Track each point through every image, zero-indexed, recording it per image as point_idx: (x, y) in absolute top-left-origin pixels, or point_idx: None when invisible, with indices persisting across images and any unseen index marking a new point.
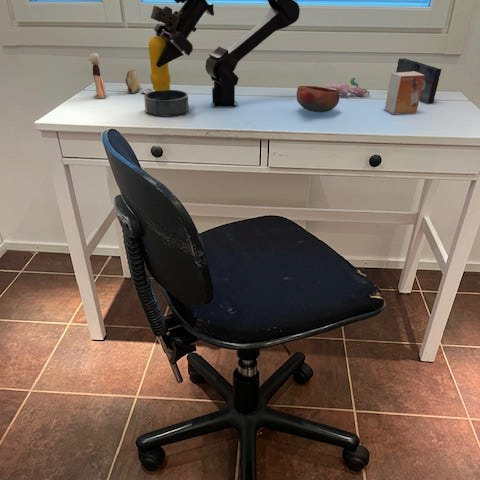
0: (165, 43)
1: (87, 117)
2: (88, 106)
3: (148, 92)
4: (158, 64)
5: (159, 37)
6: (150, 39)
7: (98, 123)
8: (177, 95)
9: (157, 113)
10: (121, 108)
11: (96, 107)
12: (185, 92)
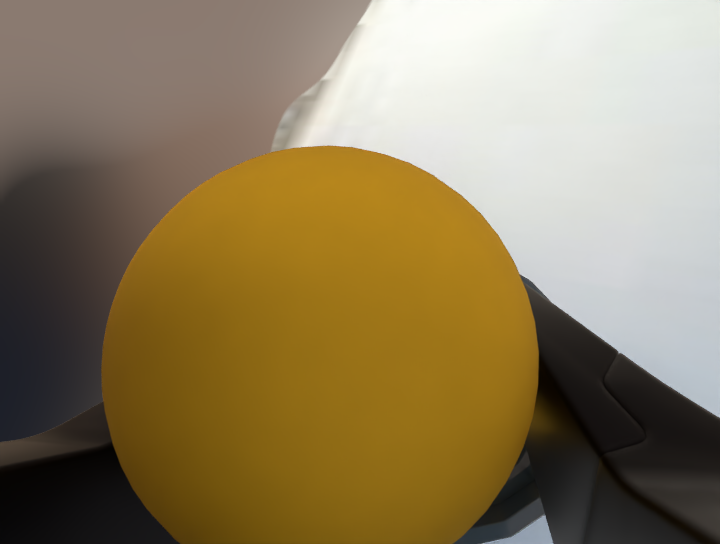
0: (29, 452)
1: (453, 37)
2: (656, 18)
3: (536, 289)
4: None
5: (116, 395)
6: (309, 152)
7: (359, 80)
8: (525, 491)
9: None
10: (565, 166)
11: (623, 54)
12: (457, 542)
